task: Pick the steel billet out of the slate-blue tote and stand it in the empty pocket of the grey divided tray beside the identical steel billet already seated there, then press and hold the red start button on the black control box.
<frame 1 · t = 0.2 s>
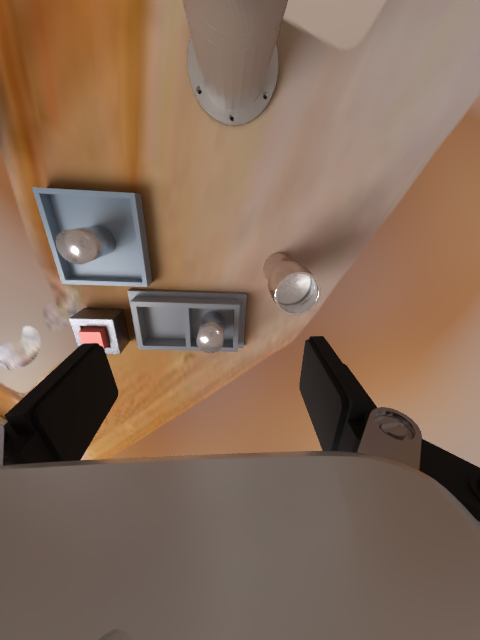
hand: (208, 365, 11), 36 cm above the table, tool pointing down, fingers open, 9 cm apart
tote: (104, 239, 42), on the table
start button: (95, 337, 45), point 5 cm above the table, slide at 0.0 cm
control box: (107, 325, 50), on the table
beer glass: (277, 268, 46), on the table
seated billet: (212, 322, 49), resting on grey divided tray
grey divided tray: (190, 319, 50), on the table
billet: (101, 240, 41), point 1 cm above the table, touching tote
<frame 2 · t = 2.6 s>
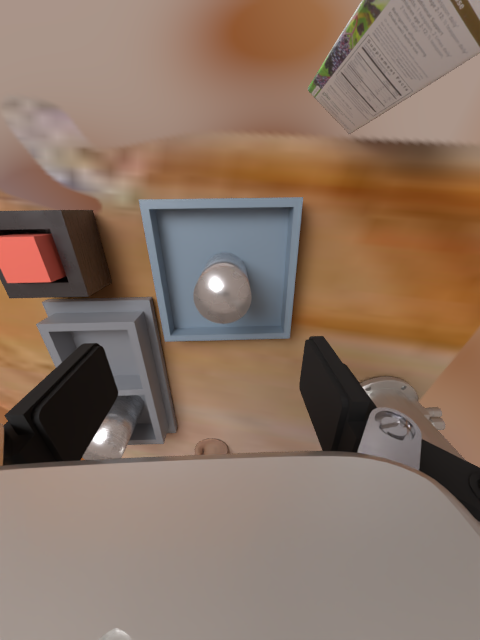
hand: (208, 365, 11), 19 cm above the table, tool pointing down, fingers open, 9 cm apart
syrup box: (350, 83, 21), on the table
tote: (225, 272, 28), on the table
start button: (33, 257, 22), point 5 cm above the table, slide at 0.0 cm
control box: (67, 249, 26), on the table
beer glass: (211, 448, 42), on the table
seated billet: (127, 403, 35), resting on grey divided tray
grey divided tray: (122, 373, 34), on the table
billet: (225, 274, 27), point 1 cm above the table, touching tote
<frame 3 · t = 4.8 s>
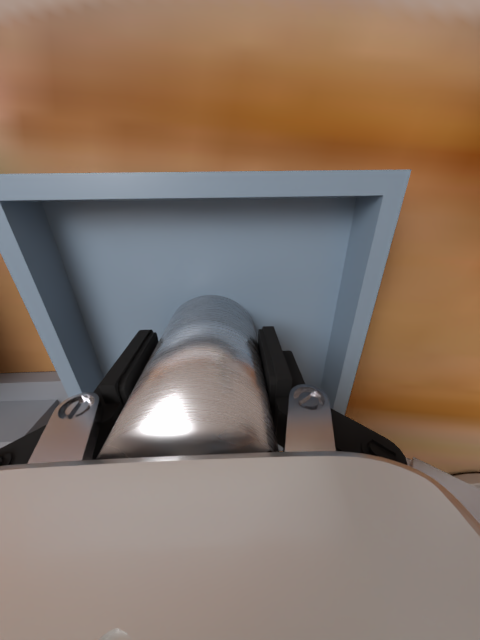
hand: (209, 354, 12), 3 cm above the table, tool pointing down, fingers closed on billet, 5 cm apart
tote: (213, 327, 14), on the table
grey divided tray: (45, 479, 20), on the table
billet: (212, 335, 13), point 1 cm above the table, touching gripper, tote
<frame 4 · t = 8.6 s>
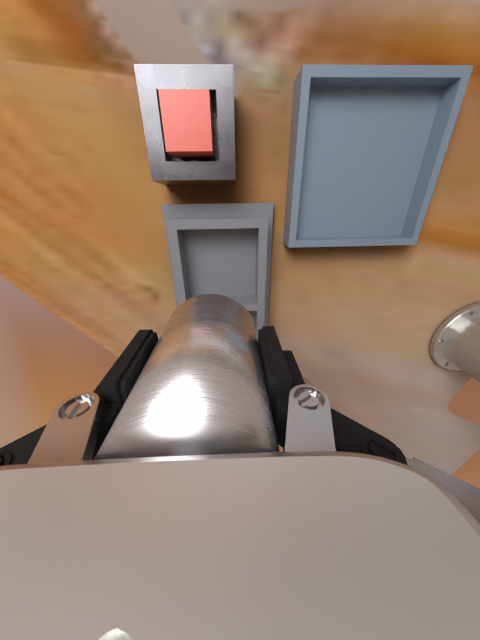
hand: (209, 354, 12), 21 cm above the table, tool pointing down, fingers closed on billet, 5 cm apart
tote: (354, 172, 26), on the table
start button: (189, 127, 20), point 5 cm above the table, slide at 0.0 cm
control box: (196, 141, 25), on the table
grey divided tray: (223, 297, 33), on the table
billet: (212, 334, 13), point 19 cm above the table, touching gripper
when the fingers open (4 cm above the table, at t = 12.3 s): billet drops 1 cm, resting on grey divided tray.
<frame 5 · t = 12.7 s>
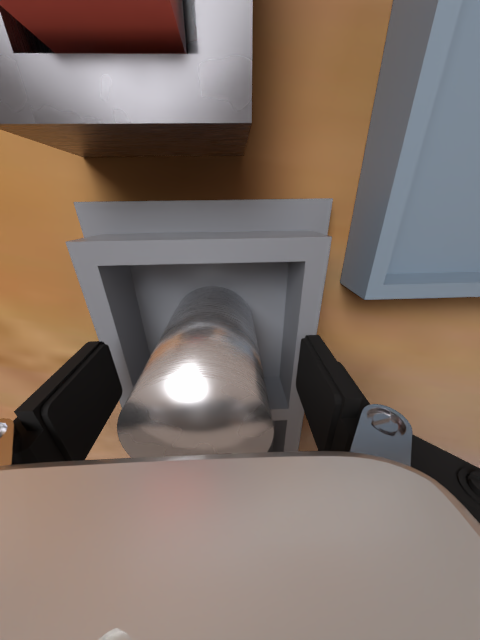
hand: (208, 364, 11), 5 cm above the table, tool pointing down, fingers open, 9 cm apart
control box: (148, 41, 10), on the table
grey divided tray: (219, 374, 18), on the table
billet: (213, 323, 15), point 1 cm above the table, touching grey divided tray
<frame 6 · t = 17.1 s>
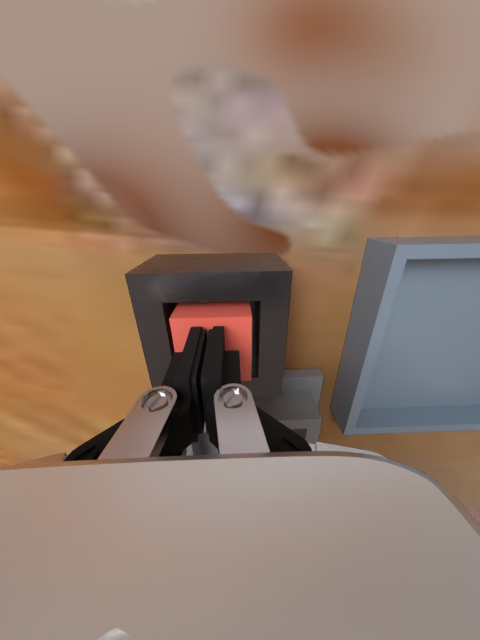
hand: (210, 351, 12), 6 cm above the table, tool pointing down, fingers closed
tote: (438, 336, 19), on the table
start button: (215, 337, 13), point 4 cm above the table, slide at 0.7 cm, touching gripper
control box: (219, 308, 17), on the table
grey divided tray: (246, 457, 25), on the table
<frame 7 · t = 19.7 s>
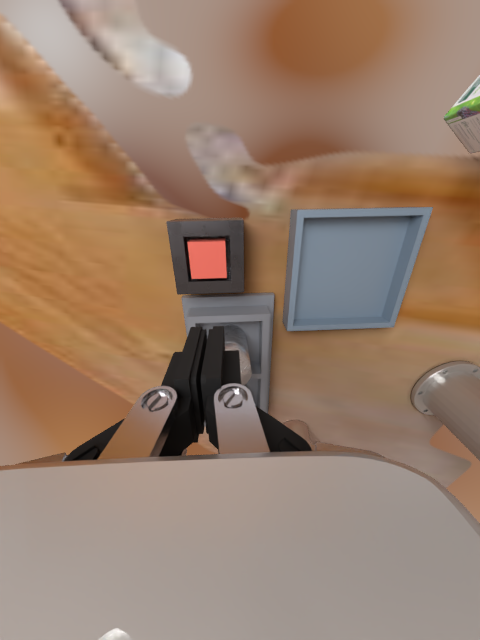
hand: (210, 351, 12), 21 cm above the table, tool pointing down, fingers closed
syrup box: (477, 112, 25), on the table
tote: (341, 270, 32), on the table
start button: (208, 257, 26), point 4 cm above the table, slide at 1.0 cm
control box: (211, 251, 30), on the table
beer glass: (292, 429, 47), on the table
grey divided tray: (231, 361, 38), on the table
billet: (230, 339, 35), point 1 cm above the table, touching grey divided tray
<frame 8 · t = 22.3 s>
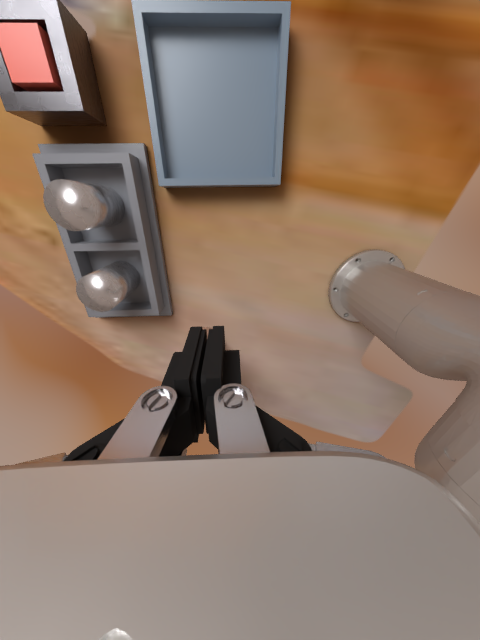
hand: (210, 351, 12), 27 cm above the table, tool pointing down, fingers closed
tote: (217, 114, 28), on the table
start button: (36, 62, 23), point 4 cm above the table, slide at 1.0 cm
control box: (62, 82, 27), on the table
seated billet: (123, 276, 36), resting on grey divided tray
grey divided tray: (118, 242, 35), on the table
billet: (106, 206, 32), point 1 cm above the table, touching grey divided tray
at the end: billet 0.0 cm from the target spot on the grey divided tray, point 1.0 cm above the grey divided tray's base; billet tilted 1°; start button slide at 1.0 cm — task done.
